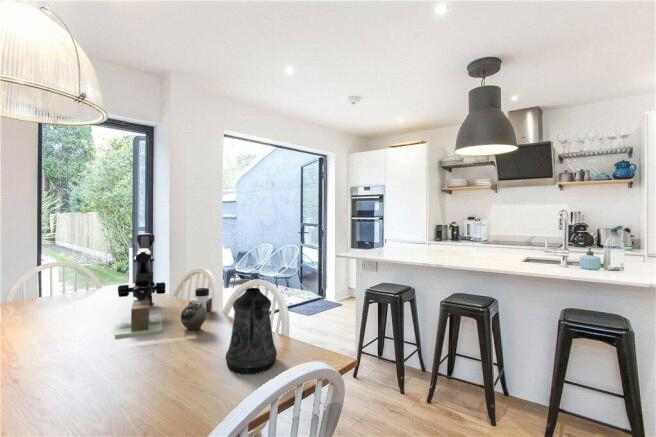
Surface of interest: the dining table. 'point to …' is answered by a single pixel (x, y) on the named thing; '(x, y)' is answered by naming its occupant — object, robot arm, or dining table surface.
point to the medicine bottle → (203, 298)
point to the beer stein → (251, 335)
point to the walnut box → (140, 315)
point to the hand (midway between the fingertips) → (141, 306)
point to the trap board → (151, 330)
